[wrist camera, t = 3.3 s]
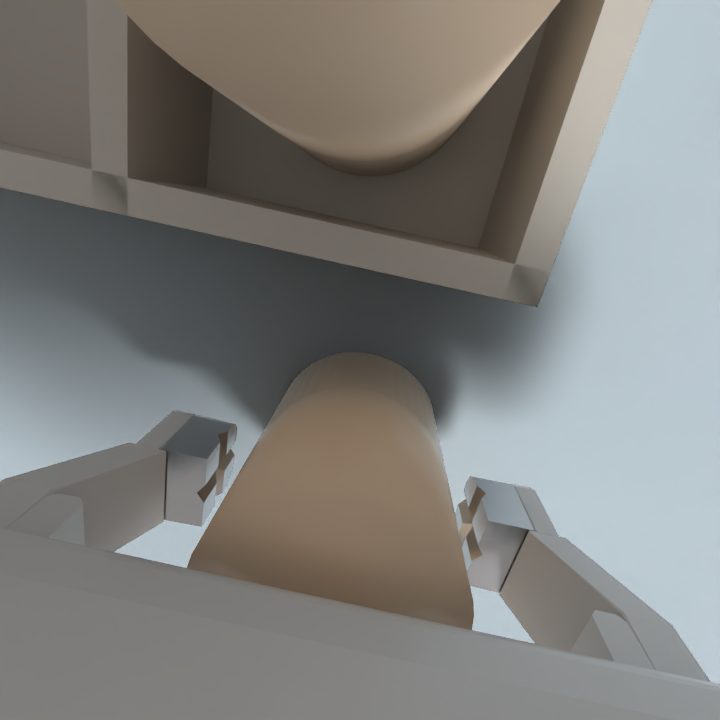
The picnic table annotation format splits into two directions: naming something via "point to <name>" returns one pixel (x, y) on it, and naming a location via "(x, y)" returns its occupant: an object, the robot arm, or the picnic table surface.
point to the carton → (299, 169)
